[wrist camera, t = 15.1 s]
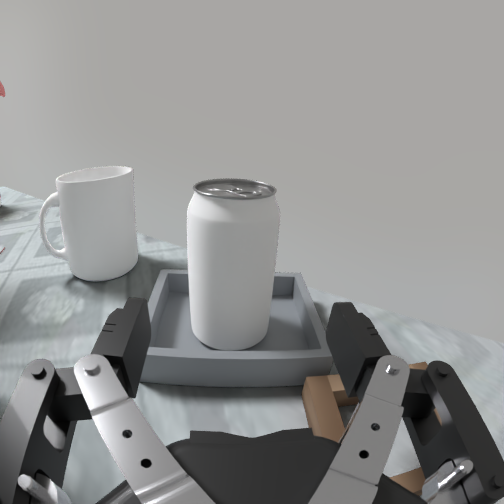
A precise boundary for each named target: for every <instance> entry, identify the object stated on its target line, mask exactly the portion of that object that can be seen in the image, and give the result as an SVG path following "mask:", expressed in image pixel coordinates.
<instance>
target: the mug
mask: <svg viewBox="0 0 504 504" xmlns="http://www.w3.org/2000/svg"><path fill="white" fill-rule="evenodd" d="M56 188H57V191H58V192H56V193H54V194H51V196H50V197H49V198H48V199H47V200H46V201H45V203H44V204H43V206H42V208H41V212H40V216H39V228H40V234H41V238H42V241H43V244H44V246H45V248H46V249H47V251H48V252H49V253H50V254H51V255H52V256H54V257H55V258H60V259H63V260H66V261H68V265H69V268H70V270H71V272H72V274H74V275H75V276H76V277H78V278H80V279H83V280H86V281H93V282H96V281H107V280H112V279H115V278H118V277H120V276H122V275H124V274H126V273H128V272H129V271H130V270H131V269H132V268H133V267H134V266H135V265H136V263H137V261H138V243H137V231H136V219H135V201H134V176H133V169H132V168H130V167H124V166H105V167H96V168H89V169H83V170H78V171H73V172H70V173H67V174H64V175H61V176H60V177H58V178H57V179H56ZM51 207H59V214H60V221H61V228H62V234H63V240H64V244H65V247H64V248H63V249H62V250H61V251H60V250H55V249H54V248H53V247H52V246H51V244H50V243H49V241H48V238H47V236H46V231H45V217H46V213H47V211H48V209H49V208H51Z"/></svg>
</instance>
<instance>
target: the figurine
mask: <svg viewBox="0 0 504 504" xmlns="http://www.w3.org/2000/svg"><path fill="white" fill-rule="evenodd" d="M0 96H3V97H5V91H4V87H3V85H2V84H1V82H0ZM4 249H5V248H4ZM4 249H3V250H4ZM3 250H2V251H3ZM2 251H1V252H2ZM1 252H0V253H1Z"/></svg>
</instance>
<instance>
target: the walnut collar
mask: <svg viewBox="0 0 504 504" xmlns="http://www.w3.org/2000/svg"><path fill="white" fill-rule="evenodd" d="M408 366H409V368H413V369H422V370H426V368H427V366H428V365H427V363H426V362H421V363H416V364H410V365H408ZM301 396H302V400H303V404H304V408H305V412H306V417H307V421H308V425H309V428H312V431H313V435H314V436H320V437H325V438H328V439H331V440H333V441H336V442H337V443H338V442H339V440H340V438H341V436H342V434H343V432H344V430H345V428H344V424H343V421H342V418H341V415H340V412H339V409H338V407H341V406H348V405H355V404H358V402H359V399H358V397H351V398H348V397H347V394H346V391H345V389H344V386H343V383H342V381H341V378H340V375H339V374H336V375H325V376H312V377H306V380H305V383H304V387H303V390H302V393H301ZM434 411H435V414H436V416H437V418H438V420H439V422H440V424H441V426H442V421H441V418H440V415H439V413H438V411H437V409H436V408H435V409H434ZM390 479H392V480H394V481H395V482H397V483H398V484H400V485H401V486H403V487H405V488H406V489H408V490H410V491H411V492H413V493H414V494H416V495H418V496H420V495H422V487H423V484H424V482H425V481H426V479H425V476H424V474H423V471H422V468H421V467H420V468H417V469H414V470H412V471H409V472H406V473H403V474H400V475H397V476H393V477H390Z"/></svg>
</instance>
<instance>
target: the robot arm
mask: <svg viewBox="0 0 504 504" xmlns="http://www.w3.org/2000/svg"><path fill="white" fill-rule="evenodd" d="M150 341H151V324H150V317H149V310H148V304H147V300H146V299H145V298H128V300H127V302H126V304H125V306H124V308H123V309H120V308H117V309H116V310H115V311H113V312H112V313H111V314H110V315H109V316H108V318H107V320H106V323H105V325H104V327H103V329H102V332H101V333H100V335H99V337H98V339H97V341H96V343H95V345H94V348H93V350H92V352H91V354H90V355H87V356H84V357H82V358H81V359H79V360H78V361H77V362H76V364H75V366H74V367H71V368H61V369H55V368H54V365H53V364H52V363H51V362H50V361H49V360H46V359H37V360H34V361H32V362H30V363H29V364H28V365H27V366H26V367H25V369H24V371H23V373H22V375H21V377H20V379H19V381H18V383H17V385H16V387H15V389H14V391H13V394H12V396H11V398H10V400H9V402H8V405H7V407H6V409H5V412H4V414H3V417H2V419H1V421H0V504H71V501H70V498H69V496H68V495H67V494H66V493H65V492H64V491H63V490H62V486H63V480H64V475H65V470H66V465H67V461H68V456H69V452H70V447H71V443H72V439H73V435H74V431H75V427H76V424H77V420H89V419H93V420H94V422H95V424H96V426H97V428H98V430H99V432H100V434H101V436H102V438H103V440H104V442H105V444H106V446H107V447H108V449H109V451H110V453H111V455H112V457H113V458H114V460H115V462H116V463H117V465H118V467H119V469H120V470H121V472H122V474H123V475H124V477H125V478H126V480H125V481H123V482H122V483H121V484H120V485H119V486H117V487H116V488H115V489H114V490H112V491H111V492H110V493H109V494H107V495H106V496H105V497H104V498H102V499H101V500H100V501H98V502H97V503H96V504H494V503H495V502H497V501H498V500H500V499H501V498H502V497H504V461H503V459H502V456H501V454H500V452H499V450H498V448H497V446H496V444H495V442H494V440H493V438H492V436H491V434H490V432H489V430H488V428H487V426H486V425H485V423H484V421H483V419H482V417H481V415H480V414H479V412H478V410H477V408H476V406H475V405H474V403H473V401H472V399H471V398H470V396H469V394H468V392H467V391H466V389H465V387H464V386H463V384H462V382H461V381H460V379H459V378H458V376H457V374H456V373H455V371H454V369H453V368H452V367H451V366H450V365H449V364H447V363H445V362H442V361H432V362H431V363H429V365H428V366H427V368H426V370H422V369H413V368H409V366H408V364H407V363H406V362H405V361H404V360H403V359H401V358H399V357H397V356H393V355H391V354H390V352H389V350H388V349H387V347H386V345H385V343H384V342H383V340H382V338H381V337H380V335H378V332H377V330H376V329H375V327H374V325H373V324H372V322H371V320H370V319H369V318H368V317H366V316H365V315H364V314H363V313H358V312H357V310H356V309H355V307H354V305H353V304H352V303H351V302H336V303H334V304H333V307H332V310H331V314H330V318H329V322H328V326H327V330H326V341H327V345H328V347H329V350H330V352H331V355H332V357H333V360H334V363H335V365H336V368H337V370H338V373H339V375H340V378H341V381H342V383H343V386H344V389H345V391H346V394H347V397H348V398H351V397H358V399H359V402H358V404H357V406H356V408H355V410H354V412H353V414H352V416H351V418H350V420H349V422H348V424H347V426H346V428H345V430H344V432H343V434H342V436H341V438H340V440H339V442H338V443H337V442H336V441H333V440H331V439H328V438H325V437H320V436H314V435H313V431H312V428H303V429H291V430H282V431H278V432H275V433H271V434H267V435H264V436H260V437H256V438H249V437H243V436H238V435H233V434H229V433H224V432H211V431H190V439H184V440H180V441H177V442H174V443H172V444H170V445H168V446H166V447H165V445H164V444H163V443H162V441H161V440H160V439H159V437H158V436H157V434H156V433H155V432H154V430H153V429H152V427H151V426H150V424H149V423H148V422H147V420H146V419H145V417H144V416H143V414H142V413H141V411H140V409H139V408H138V406H137V405H136V403H135V402H134V400H133V399H132V398H136V394H137V390H138V386H139V382H140V378H141V374H142V370H143V366H144V363H145V359H146V355H147V352H148V348H149V344H150ZM435 408H436V409H437V411H438V413H439V415H440V418H441V421H442V426H441V424H440V422H439V420H438V418H437V416H436V414H435V411H434V409H435ZM401 417H403V420H404V423H405V425H406V428H407V430H408V433H409V435H410V438H411V441H412V443H413V446H414V449H415V451H416V454H417V457H418V459H419V462H420V465H421V468H422V471H423V474H424V476H425V479H426V481H425V482H424V484H423V487H422V495H421V497H419V496H418V495H416V494H414V493H413V492H411V491H410V490H408V489H406V488H405V487H403V486H401V485H400V484H398V483H397V482H395V481H394V480H392V479H390V478H389V477H387V476H386V475H384V474H383V473H382V472H383V470H384V467H385V465H386V462H387V459H388V457H389V454H390V451H391V448H392V445H393V442H394V439H395V436H396V433H397V430H398V427H399V424H400V421H401Z"/></svg>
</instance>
